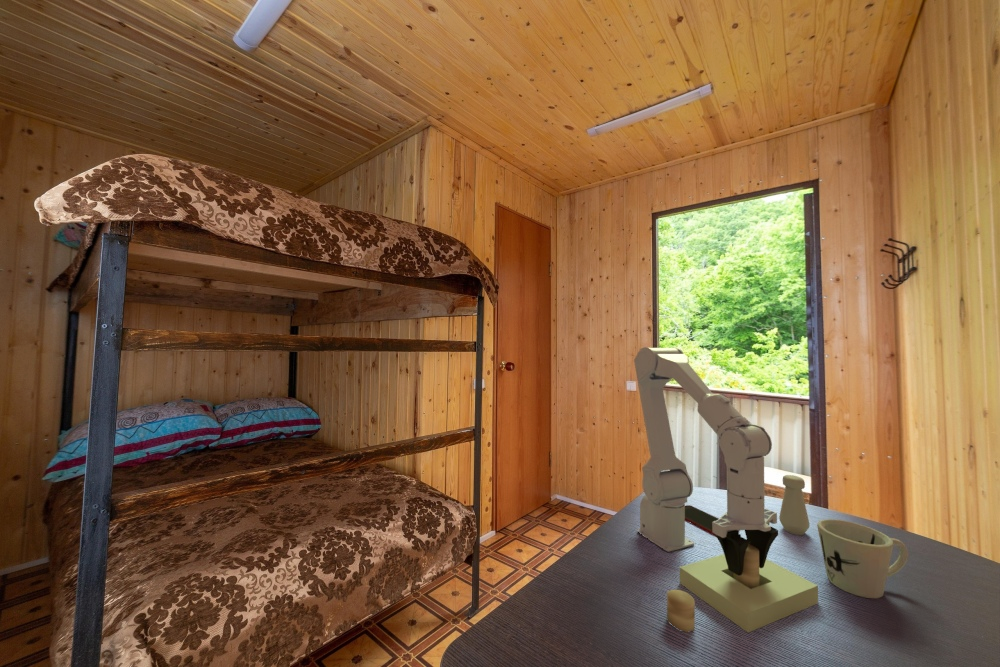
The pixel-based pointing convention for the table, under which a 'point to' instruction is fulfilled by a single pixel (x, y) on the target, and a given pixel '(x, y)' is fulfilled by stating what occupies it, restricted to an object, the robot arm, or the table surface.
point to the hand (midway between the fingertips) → (745, 568)
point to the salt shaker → (794, 506)
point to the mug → (858, 557)
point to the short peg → (681, 610)
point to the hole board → (749, 592)
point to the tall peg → (750, 568)
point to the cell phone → (699, 518)
